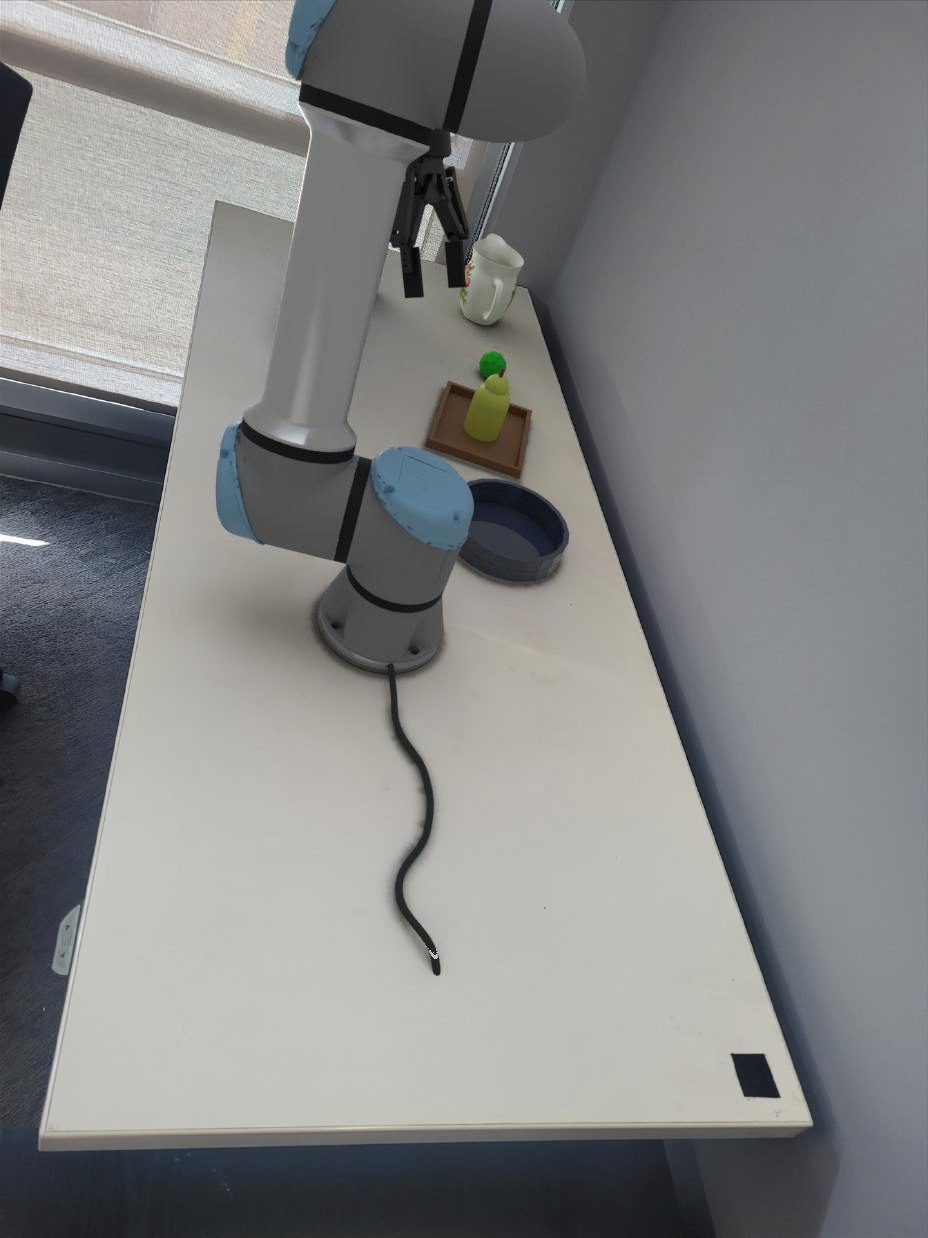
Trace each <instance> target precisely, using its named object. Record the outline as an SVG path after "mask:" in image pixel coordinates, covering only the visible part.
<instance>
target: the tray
mask: <svg viewBox="0 0 928 1238" xmlns="http://www.w3.org/2000/svg"><path fill="white" fill-rule="evenodd" d="M476 390H477V389H473V388H470V387H467V386H464V385H462V384H460V383H456V382H453V381H451V380H447V383H446V386H445V389H444V391H443V394H442V398H441V400H440V403H439V406H438V409H437V412H436V414H435V418H434V420H433V423H432V426H431V429H430V432H429V435H428V438H427V441H426V443H425V447H426V448H429V449H432V450H434V451H437V452H440V453H443V454H446V455H448V456H452V457H454V458H458V459H461V460H463V461H465V462H469V463H471V464H475V465H478V466H479V467H480V466H481V467H483V468H486V469H489V470H492V471H494V472H497V473H500V474H503V475H506V476H508V477H512V478H515V479H520V476H521V475H522V470H523V465H524V460H525V455H526V448H527V442H528V438H529V431H530V427H531V419H532V415H533V410H532V409H530V408H527V407H524V406H521V405H518V404H515V403H513V402H510V405H509V408H508V411H507V413H506V416H505V419H504V421H503V424H502V426H501V429H500V431H499V434H498V437H497V439H496V440H494V441H491V442H484V441H480V440H477V439H475V438H473V437H471V436H470V435H468V434H467V433H466V431H465V430H464V422H465V419H466V416H467V414H468V411H469V408H470V405H471V402H472V399H473V396H474V394H475V391H476Z"/></svg>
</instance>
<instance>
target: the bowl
mask: <svg viewBox="0 0 928 1238" xmlns="http://www.w3.org/2000/svg"><path fill="white" fill-rule="evenodd" d="M466 483H467V485H468V486H469V488H470V491H471V493H472V496H473V501H474V511H473V516H472V519H471V522H470V526H469V529H468V537H467V539H466V541H465V543H464V544H463V545H462V547H461V549H460V552H459V554H458V557H460V558H461V559H462V560H464V561H465V562H466V563H467V564H469V565H470V566H471V567H473V568H475V569H476V570H478V571H480V572H482V573H484V574H486V575H488V576H490V577H493V578H496V579H500V580H502V581H503V580H504V581H509V582H517V583H518V582H519V583H526V582H527V583H529V582H534V581H539V580H541V579H545V578H546V577H547V576H549V575H550V574H551V573H553V572H554V571H555V570H556V567H557V566H558V564H559V562H560V561H561V559H562V557H563V555H564V553H565V551H566V549H567V547H568V545H569V543H570V531H569V527H568V523H567V521H566V519H565V518H564V516H563V515H562V513H561V512H560V510H558V509H557V508H556V506H555V505H554V504H553V503H552V502H551V501H549V500H548V499H547V498H546V497H544V496H542V495H541V494H540V493H538V492H536V491H535V490H533V489H531V488H530V487H527V486H525V485H522V484H520V483H516V482H513V481H511V480H505V479H501V478H478V479H473V480H470V481H466Z"/></svg>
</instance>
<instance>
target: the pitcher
mask: <svg viewBox="0 0 928 1238" xmlns="http://www.w3.org/2000/svg"><path fill="white" fill-rule="evenodd" d="M472 247H473V248H472V256H471V259H470V260H469V261H468V262H467V264H466V266H465V279H466V287H460V288H459V301H460V302H459V303H460V307H461V310H462V314H463V316H464V318H466V319H468V320H469V321H470V322H473V323H475V324H478V325H480V326H481V325H482V326H490V325H493V324H495V323H496V322H497V321H498V320H500V319H501V318H502V317H503V316H504V314H506V312H507V310H508V309H509V308H510V305H511V304H512V302H513V300H514V298H515V295H516V292H517V288H518V277H519V276H518V275H519V274H520V272H521V270H522V268H523V267H524V264H525V261H524V258H523V257H522V255H521V254H520V253H519V251H517V250H516V249H514V248H513V247H512V246H510V245H509V244H508V243H507V242H506V241H505V240H504V239H503V237H501V236H500V235H498V234H497V233H492V232H491V233H489V234H488V235H487V236H486V237H485V238H482V239H479V240H477V241H475V242H474V243H473V246H472Z"/></svg>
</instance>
